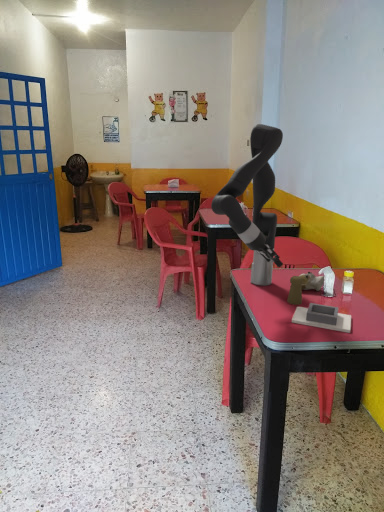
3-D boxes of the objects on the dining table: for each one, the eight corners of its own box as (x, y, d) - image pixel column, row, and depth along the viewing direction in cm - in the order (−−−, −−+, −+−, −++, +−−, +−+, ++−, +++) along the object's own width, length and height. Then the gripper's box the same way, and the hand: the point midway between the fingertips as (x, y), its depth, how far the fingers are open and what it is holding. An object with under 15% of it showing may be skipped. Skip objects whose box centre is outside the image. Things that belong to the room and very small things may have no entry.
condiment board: (291, 322, 144) (292, 312, 143) (297, 308, 157) (298, 299, 156) (349, 332, 137) (351, 322, 136) (350, 317, 150) (352, 307, 149)
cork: (302, 305, 161) (305, 279, 158) (287, 303, 162) (289, 278, 159) (301, 299, 166) (304, 275, 163) (286, 298, 167) (289, 273, 164)
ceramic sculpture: (326, 275, 170) (290, 274, 174) (325, 294, 172) (289, 293, 176) (324, 269, 180) (290, 267, 184) (323, 287, 182) (290, 285, 186)
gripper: (267, 231, 143) (291, 260, 149) (249, 225, 156) (272, 251, 162) (252, 246, 143) (278, 275, 149) (236, 238, 156) (260, 265, 162)
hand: (275, 262), depth 156 cm, fingers open, 8 cm apart
